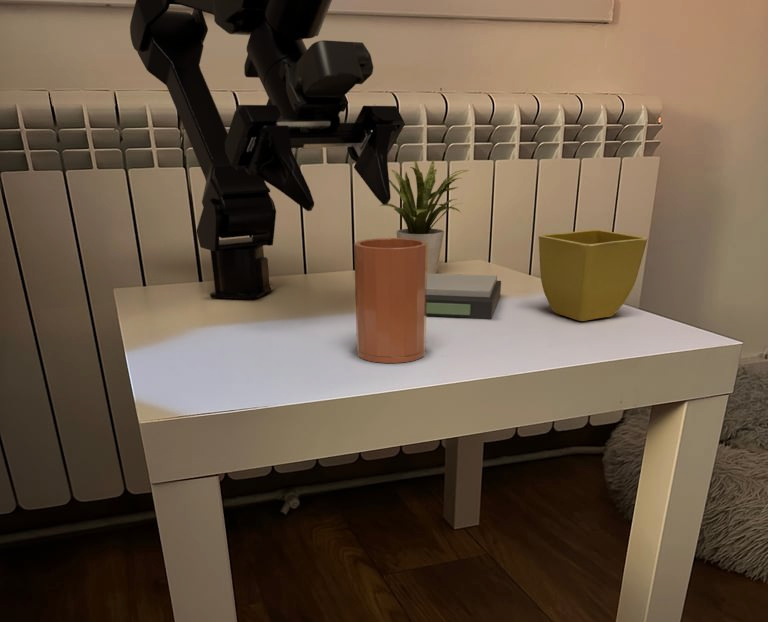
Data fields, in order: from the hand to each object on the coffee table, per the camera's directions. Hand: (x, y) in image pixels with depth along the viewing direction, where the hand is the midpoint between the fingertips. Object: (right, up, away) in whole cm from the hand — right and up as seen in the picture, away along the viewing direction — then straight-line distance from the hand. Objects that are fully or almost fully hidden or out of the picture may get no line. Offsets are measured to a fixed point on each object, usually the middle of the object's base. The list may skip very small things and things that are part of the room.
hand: (350, 205), depth 73 cm
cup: (+4, -15, 0) cm, 15 cm away
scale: (+12, -5, +19) cm, 23 cm away
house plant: (+9, +5, +37) cm, 38 cm away
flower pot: (+27, -8, +13) cm, 31 cm away
